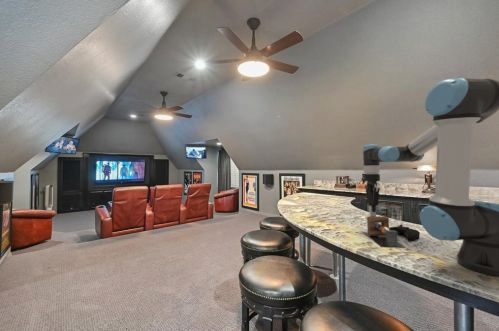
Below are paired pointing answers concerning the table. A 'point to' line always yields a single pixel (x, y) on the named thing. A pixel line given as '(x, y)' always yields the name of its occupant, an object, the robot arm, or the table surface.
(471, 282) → the table surface
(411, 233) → the gaming controller
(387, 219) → the collar
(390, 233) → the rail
